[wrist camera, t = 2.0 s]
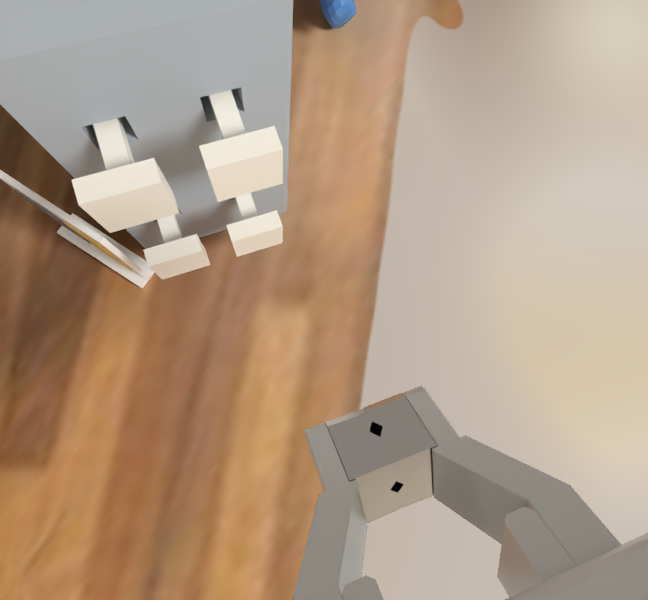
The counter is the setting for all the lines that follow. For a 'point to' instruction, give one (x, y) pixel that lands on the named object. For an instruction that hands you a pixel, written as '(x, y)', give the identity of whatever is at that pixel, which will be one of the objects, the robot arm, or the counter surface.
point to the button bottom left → (175, 251)
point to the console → (150, 87)
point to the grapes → (338, 11)
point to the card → (88, 237)
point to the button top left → (123, 184)
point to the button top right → (240, 153)
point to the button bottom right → (254, 228)
